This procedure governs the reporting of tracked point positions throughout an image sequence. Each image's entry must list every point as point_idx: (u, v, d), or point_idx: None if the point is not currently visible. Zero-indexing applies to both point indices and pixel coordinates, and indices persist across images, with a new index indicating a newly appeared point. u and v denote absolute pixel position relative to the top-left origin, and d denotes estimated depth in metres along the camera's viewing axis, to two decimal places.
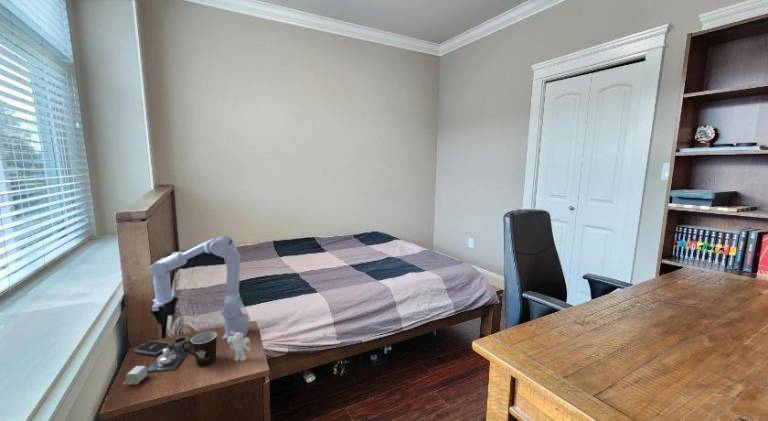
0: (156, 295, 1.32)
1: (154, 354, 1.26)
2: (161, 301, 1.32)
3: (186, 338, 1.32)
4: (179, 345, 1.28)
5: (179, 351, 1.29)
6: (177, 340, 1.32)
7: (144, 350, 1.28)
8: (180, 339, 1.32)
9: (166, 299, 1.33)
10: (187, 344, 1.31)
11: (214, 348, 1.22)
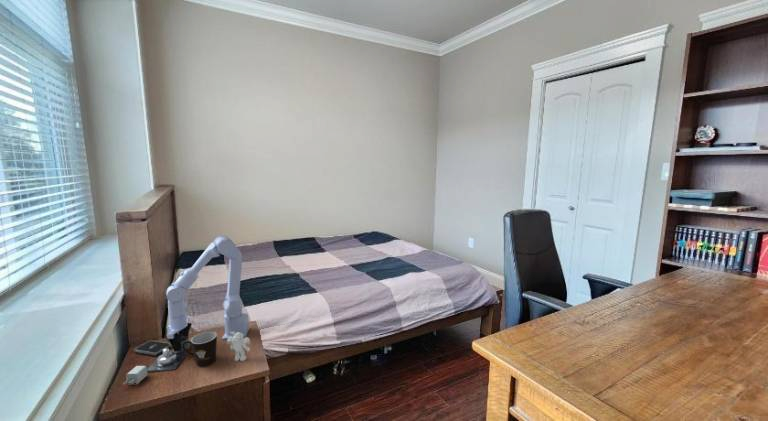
0: (171, 321, 1.27)
1: (154, 354, 1.26)
2: (176, 328, 1.27)
3: (186, 338, 1.32)
4: None
5: (179, 351, 1.29)
6: None
7: (144, 349, 1.28)
8: None
9: (181, 325, 1.28)
10: (187, 344, 1.31)
11: (214, 348, 1.22)
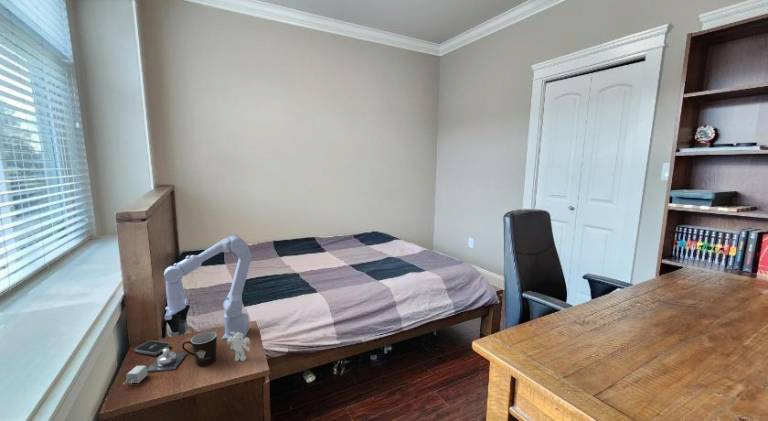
0: (169, 302, 1.26)
1: (154, 354, 1.26)
2: (174, 309, 1.26)
3: (184, 321, 1.31)
4: None
5: (177, 333, 1.28)
6: None
7: (144, 350, 1.28)
8: None
9: (179, 307, 1.27)
10: (185, 327, 1.30)
11: (214, 348, 1.22)
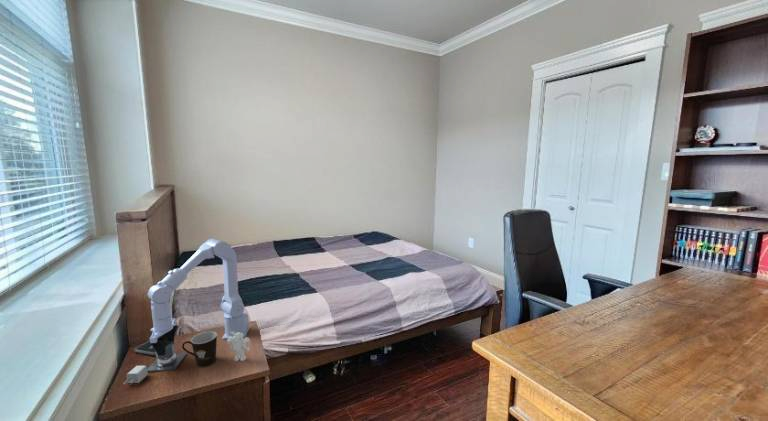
0: (154, 324, 1.17)
1: (154, 354, 1.26)
2: (160, 331, 1.18)
3: (171, 343, 1.22)
4: None
5: (163, 357, 1.19)
6: None
7: (144, 350, 1.28)
8: None
9: (166, 328, 1.19)
10: (172, 349, 1.21)
11: (214, 348, 1.22)
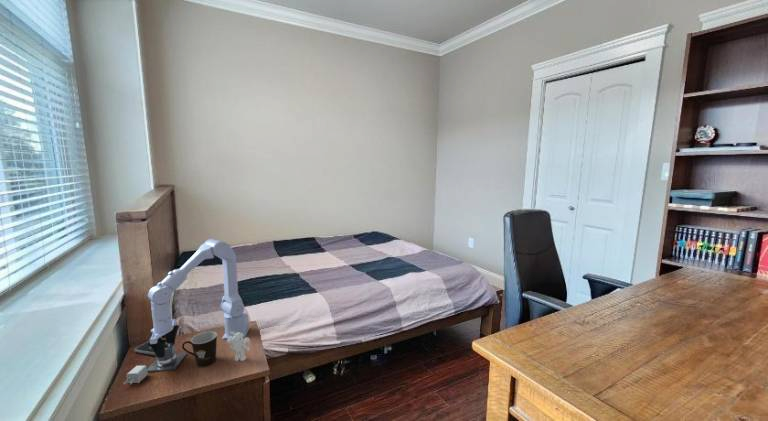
0: (154, 325, 1.17)
1: (154, 354, 1.26)
2: (160, 332, 1.18)
3: (171, 345, 1.23)
4: None
5: (163, 359, 1.19)
6: None
7: (144, 349, 1.28)
8: (165, 346, 1.23)
9: (166, 329, 1.19)
10: (172, 351, 1.22)
11: (214, 348, 1.22)
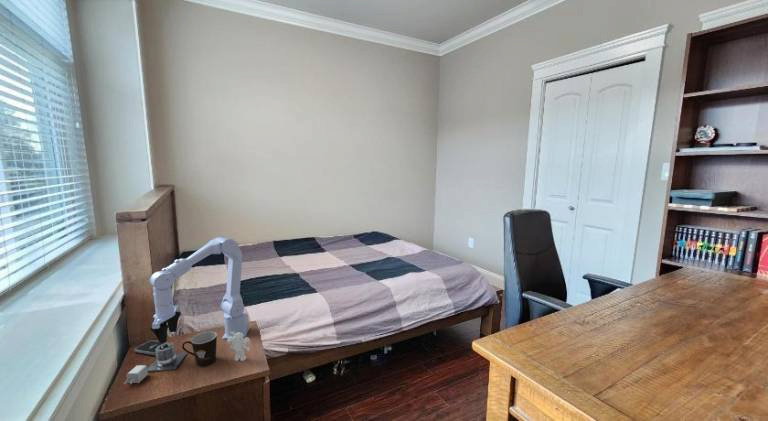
0: (157, 310, 1.18)
1: (154, 354, 1.26)
2: (162, 317, 1.18)
3: (171, 345, 1.23)
4: (163, 352, 1.19)
5: (163, 359, 1.19)
6: (162, 347, 1.22)
7: (144, 349, 1.28)
8: (165, 346, 1.23)
9: (168, 315, 1.19)
10: (172, 351, 1.22)
11: (214, 348, 1.22)
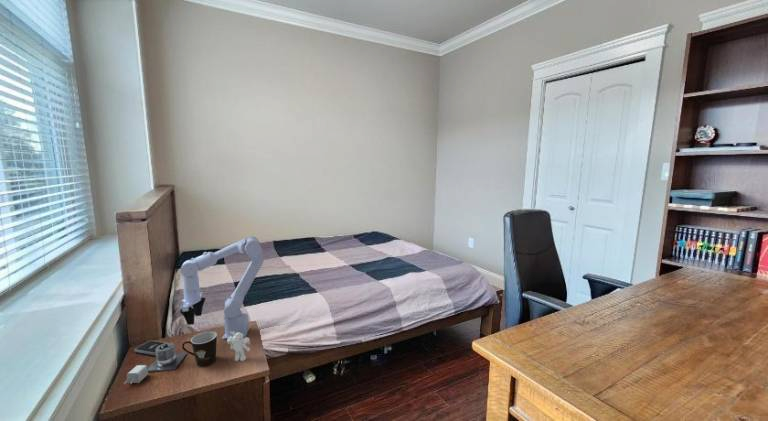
0: (185, 295, 1.31)
1: (154, 354, 1.26)
2: (190, 301, 1.31)
3: (171, 345, 1.23)
4: (163, 352, 1.19)
5: (163, 359, 1.19)
6: (162, 347, 1.22)
7: (144, 350, 1.28)
8: (165, 346, 1.23)
9: (195, 299, 1.32)
10: (172, 351, 1.22)
11: (214, 348, 1.22)
